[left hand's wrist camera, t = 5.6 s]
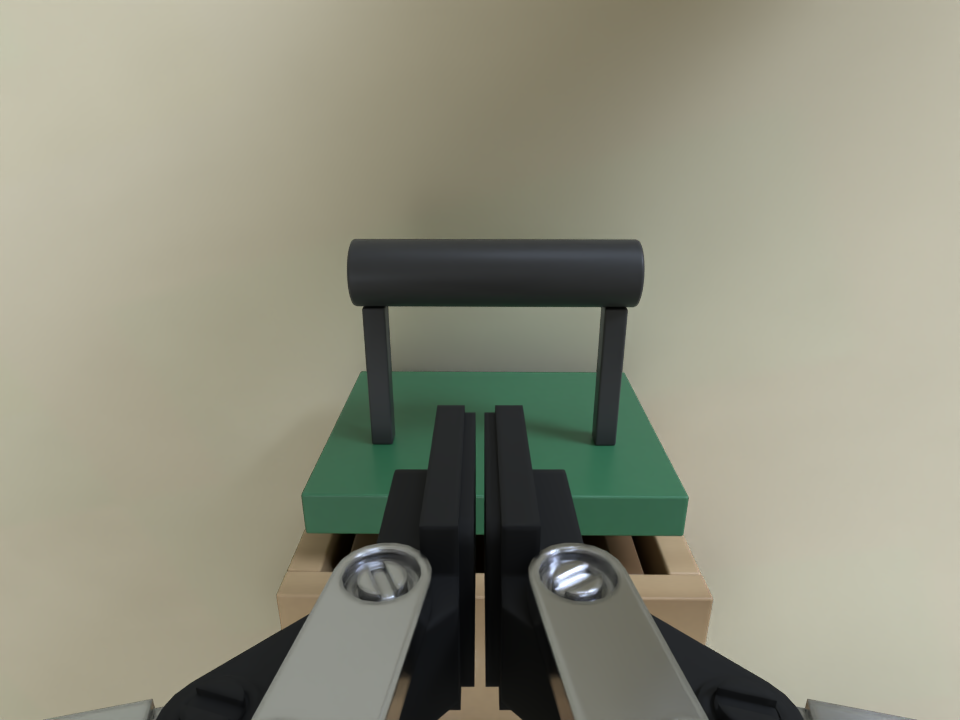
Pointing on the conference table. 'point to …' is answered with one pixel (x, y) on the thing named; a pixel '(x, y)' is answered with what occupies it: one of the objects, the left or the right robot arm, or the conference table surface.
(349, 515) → the drawer
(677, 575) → the pale wooden box
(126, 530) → the conference table surface
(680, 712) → the left robot arm
